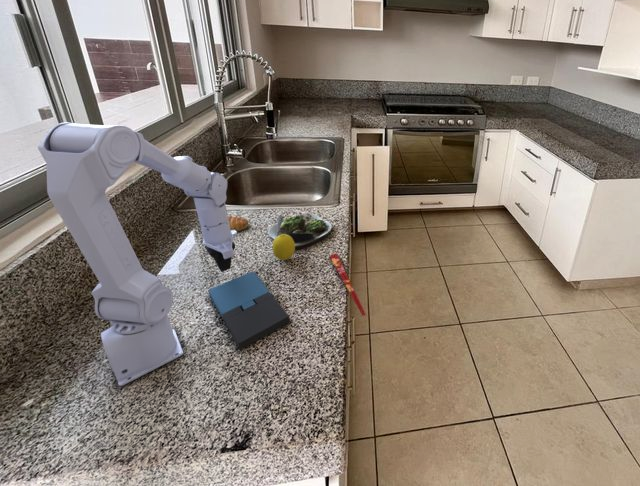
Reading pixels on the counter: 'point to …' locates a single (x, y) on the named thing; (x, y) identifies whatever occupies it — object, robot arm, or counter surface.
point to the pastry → (237, 223)
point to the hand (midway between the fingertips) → (225, 269)
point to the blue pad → (238, 293)
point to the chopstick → (346, 280)
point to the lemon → (283, 247)
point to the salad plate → (302, 229)
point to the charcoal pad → (255, 320)
